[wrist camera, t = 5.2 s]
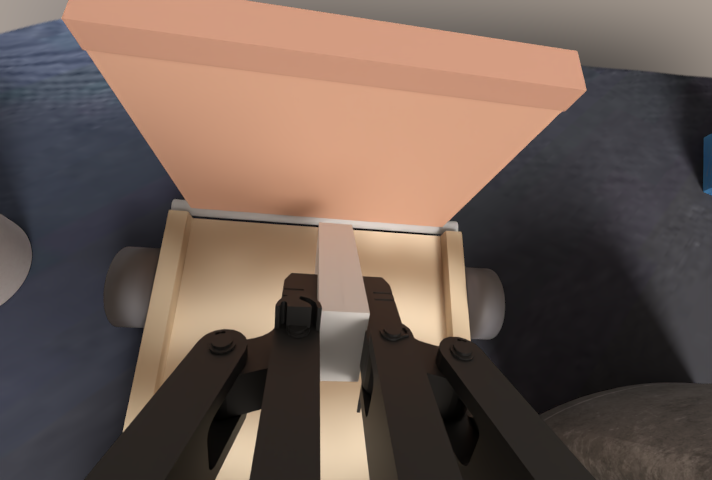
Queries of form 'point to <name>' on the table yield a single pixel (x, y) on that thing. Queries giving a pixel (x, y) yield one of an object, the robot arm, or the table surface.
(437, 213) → the tailgate
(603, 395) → the flask
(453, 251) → the truck bed
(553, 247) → the table surface
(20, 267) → the coffee cup
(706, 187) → the perfume bottle
